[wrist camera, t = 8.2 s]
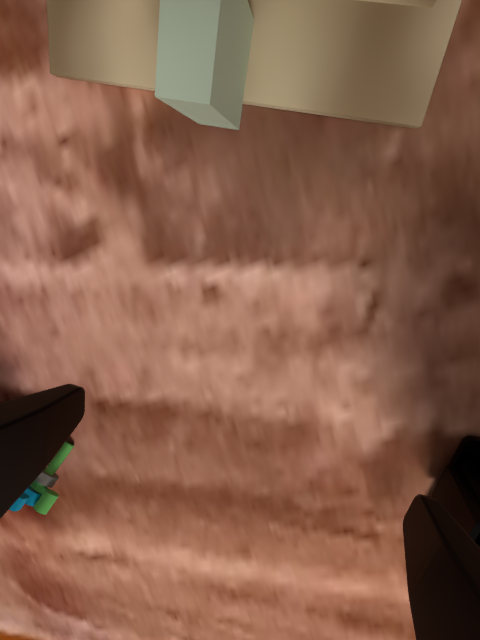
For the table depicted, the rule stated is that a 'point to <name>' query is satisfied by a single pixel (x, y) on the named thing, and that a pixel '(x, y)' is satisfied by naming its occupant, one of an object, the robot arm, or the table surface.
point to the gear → (43, 485)
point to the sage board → (204, 58)
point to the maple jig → (279, 52)
